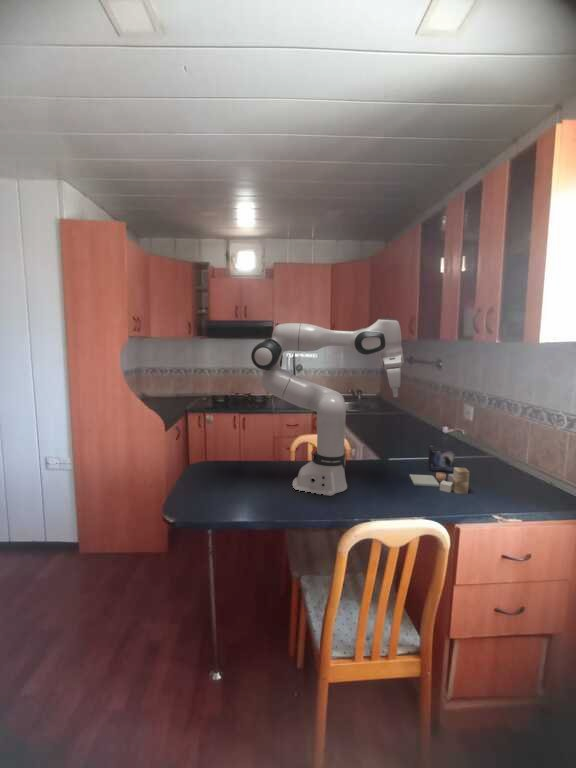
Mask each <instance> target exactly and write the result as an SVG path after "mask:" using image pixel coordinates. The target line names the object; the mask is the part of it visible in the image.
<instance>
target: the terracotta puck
mask: <svg viewBox="0 0 576 768" xmlns="http://www.w3.org/2000/svg"><path fill="white" fill-rule="evenodd" d="M435 479H436V481H437V482H438V483H441V482H442V481H447V474H446V472H437V471H436V473H435Z"/></svg>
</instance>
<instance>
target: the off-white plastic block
mask: <svg viewBox="0 0 576 768" xmlns="http://www.w3.org/2000/svg"><path fill="white" fill-rule="evenodd" d="M439 491H442V492H445V493H451V492H452V491H454V490H453V483H452V482H449V481H448V480H446V481H442V482H439Z"/></svg>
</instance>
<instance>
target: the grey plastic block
mask: <svg viewBox="0 0 576 768" xmlns="http://www.w3.org/2000/svg"><path fill="white" fill-rule="evenodd" d="M447 481H448V482H452V483H453V473H448V474H447Z"/></svg>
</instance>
